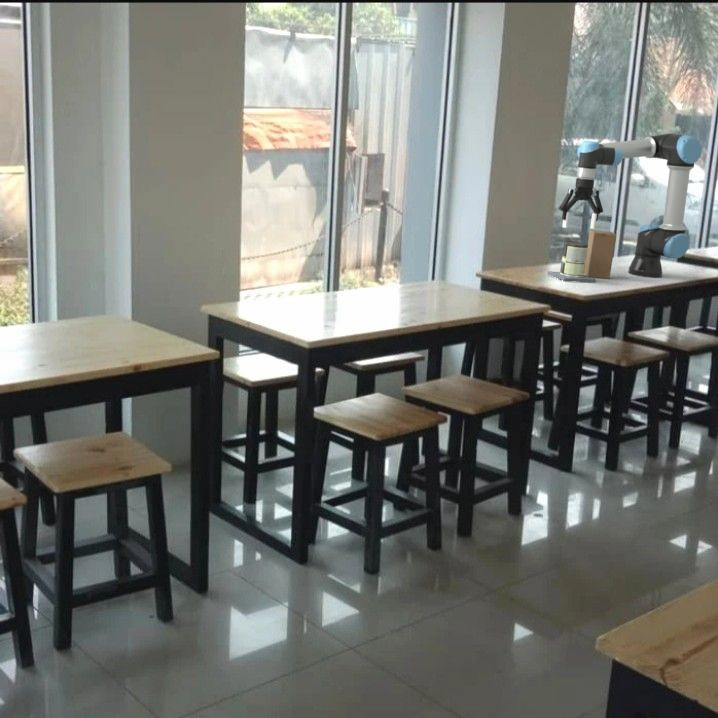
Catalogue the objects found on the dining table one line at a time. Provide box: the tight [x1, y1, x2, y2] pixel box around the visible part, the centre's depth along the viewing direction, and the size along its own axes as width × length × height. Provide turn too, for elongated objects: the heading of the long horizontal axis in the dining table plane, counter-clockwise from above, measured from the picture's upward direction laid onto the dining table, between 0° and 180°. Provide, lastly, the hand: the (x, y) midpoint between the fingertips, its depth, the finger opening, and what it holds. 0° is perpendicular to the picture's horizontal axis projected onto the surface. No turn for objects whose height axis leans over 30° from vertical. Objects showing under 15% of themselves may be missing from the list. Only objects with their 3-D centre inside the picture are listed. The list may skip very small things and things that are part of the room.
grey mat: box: [546, 271, 596, 284], centre depth 452 cm, size 15×15×2 cm
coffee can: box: [559, 240, 588, 277], centre depth 450 cm, size 10×10×14 cm
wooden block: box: [584, 229, 617, 280], centre depth 462 cm, size 10×10×20 cm
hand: (578, 228), depth 446 cm, fingers open, 13 cm apart
